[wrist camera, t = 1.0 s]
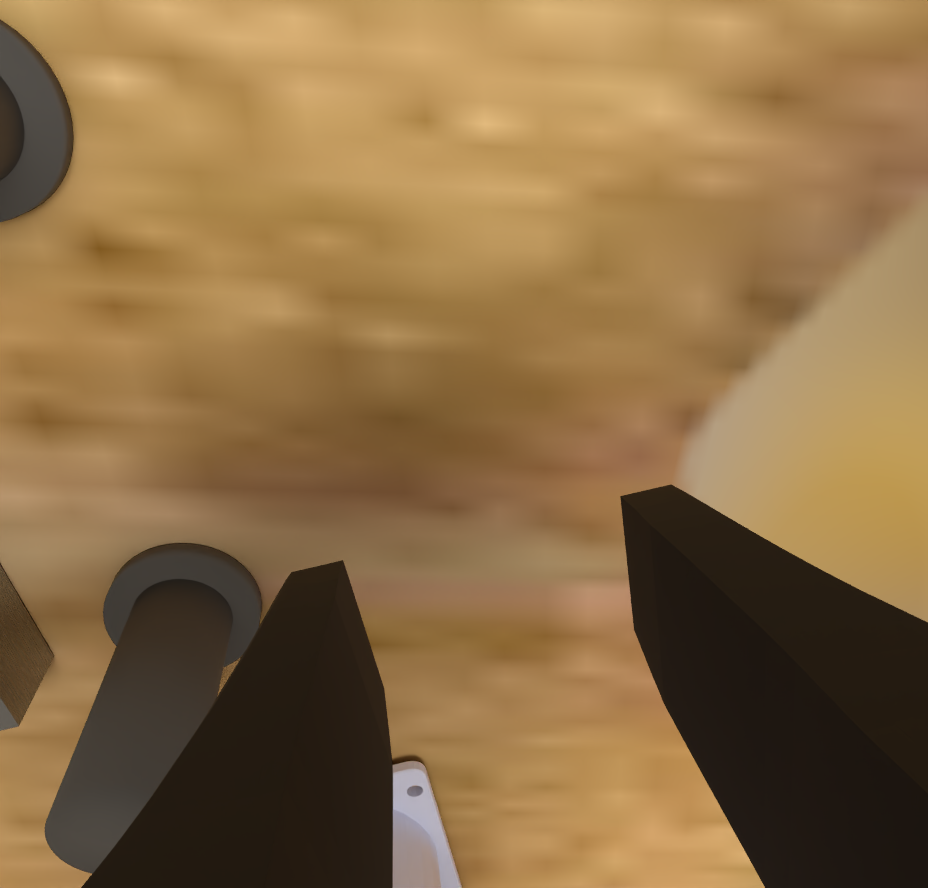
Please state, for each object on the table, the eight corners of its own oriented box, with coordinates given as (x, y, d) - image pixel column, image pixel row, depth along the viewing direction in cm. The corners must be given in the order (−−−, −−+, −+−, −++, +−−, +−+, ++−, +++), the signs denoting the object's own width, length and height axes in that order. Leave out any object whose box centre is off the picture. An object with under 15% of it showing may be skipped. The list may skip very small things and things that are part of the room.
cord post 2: (279, 641, 22) (251, 870, 16) (142, 673, 22) (59, 917, 16) (234, 528, 20) (183, 737, 14) (84, 562, 20) (-36, 789, 14)
